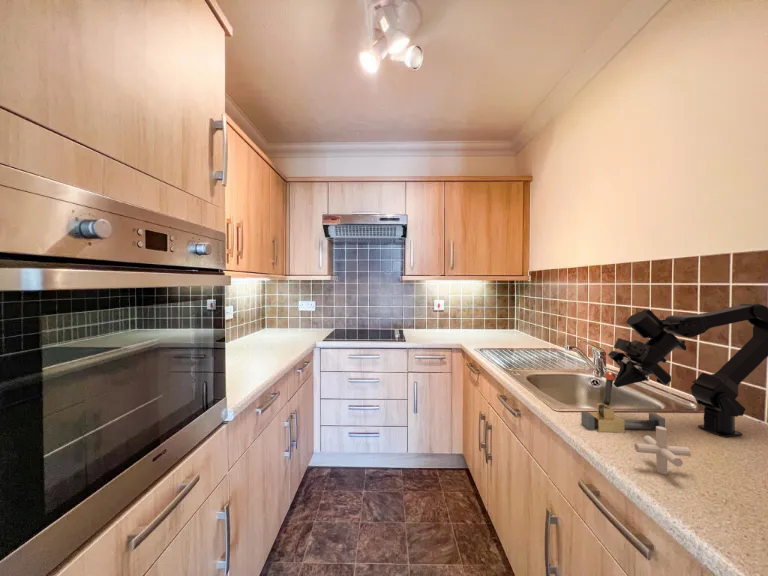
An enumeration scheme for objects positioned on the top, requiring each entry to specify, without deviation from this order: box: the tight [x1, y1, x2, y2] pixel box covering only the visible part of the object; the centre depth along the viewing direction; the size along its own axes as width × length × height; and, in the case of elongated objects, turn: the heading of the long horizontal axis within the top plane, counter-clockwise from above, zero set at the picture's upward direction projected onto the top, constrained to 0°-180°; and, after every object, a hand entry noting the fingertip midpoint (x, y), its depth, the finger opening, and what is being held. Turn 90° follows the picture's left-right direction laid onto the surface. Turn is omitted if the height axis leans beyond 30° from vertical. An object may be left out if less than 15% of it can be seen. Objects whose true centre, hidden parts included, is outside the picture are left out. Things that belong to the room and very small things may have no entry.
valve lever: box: [599, 371, 617, 415], centre depth 92 cm, size 3×3×13 cm
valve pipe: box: [580, 402, 666, 434], centre depth 92 cm, size 21×6×6 cm, turn 84°
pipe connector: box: [633, 426, 692, 475], centre depth 70 cm, size 10×10×10 cm
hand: (615, 385), depth 92 cm, fingers closed
